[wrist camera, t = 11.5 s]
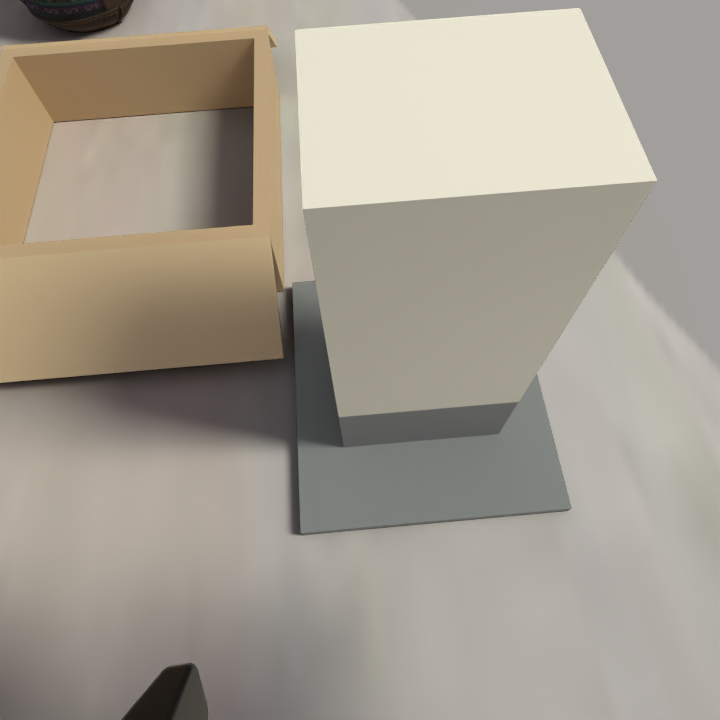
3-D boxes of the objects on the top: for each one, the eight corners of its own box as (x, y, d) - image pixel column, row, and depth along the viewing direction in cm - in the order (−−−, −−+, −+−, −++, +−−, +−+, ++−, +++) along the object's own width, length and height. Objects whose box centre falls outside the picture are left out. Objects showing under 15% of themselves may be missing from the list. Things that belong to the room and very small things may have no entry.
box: (498, 434, 19) (657, 181, 8) (343, 447, 19) (302, 209, 8) (475, 324, 21) (580, 8, 10) (336, 336, 21) (295, 29, 10)
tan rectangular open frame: (286, 366, 21) (269, 318, 18) (-30, 394, 21) (-105, 350, 18) (278, 53, 30) (266, -18, 26) (55, 70, 29) (16, 1, 26)
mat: (567, 510, 18) (571, 508, 18) (302, 535, 18) (300, 533, 18) (506, 270, 23) (508, 264, 22) (293, 288, 23) (292, 282, 22)
